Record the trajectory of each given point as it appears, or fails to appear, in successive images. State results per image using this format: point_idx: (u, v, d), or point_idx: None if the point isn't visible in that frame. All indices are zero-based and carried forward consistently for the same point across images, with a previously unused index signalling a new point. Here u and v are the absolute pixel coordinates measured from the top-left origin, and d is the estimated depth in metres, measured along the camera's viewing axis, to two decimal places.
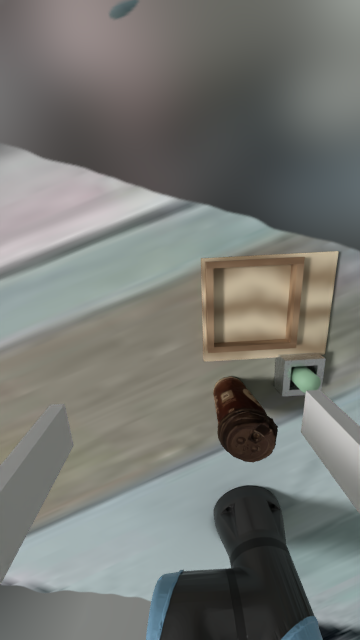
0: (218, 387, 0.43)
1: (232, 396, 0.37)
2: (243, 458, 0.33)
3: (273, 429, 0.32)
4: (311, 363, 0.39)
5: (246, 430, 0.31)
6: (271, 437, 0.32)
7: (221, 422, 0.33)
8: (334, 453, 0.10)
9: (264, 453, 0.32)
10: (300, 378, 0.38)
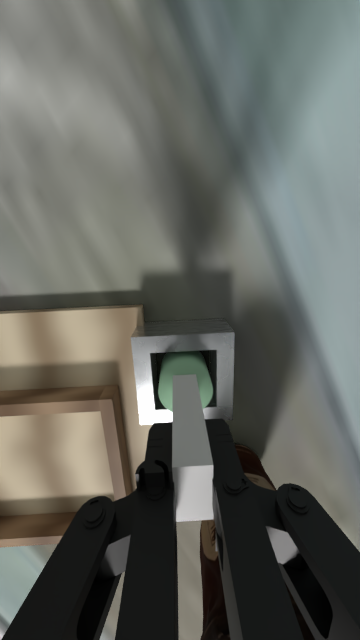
0: None
1: None
2: None
3: None
4: (146, 367, 0.16)
5: None
6: None
7: None
8: None
9: None
10: (171, 408, 0.16)
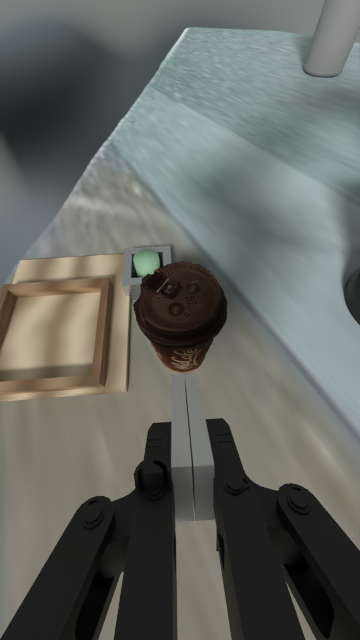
0: (170, 365, 0.28)
1: None
2: (214, 301, 0.19)
3: None
4: (129, 259, 0.34)
5: (156, 302, 0.19)
6: (169, 268, 0.20)
7: (157, 345, 0.19)
8: None
9: (200, 273, 0.20)
10: (138, 268, 0.31)
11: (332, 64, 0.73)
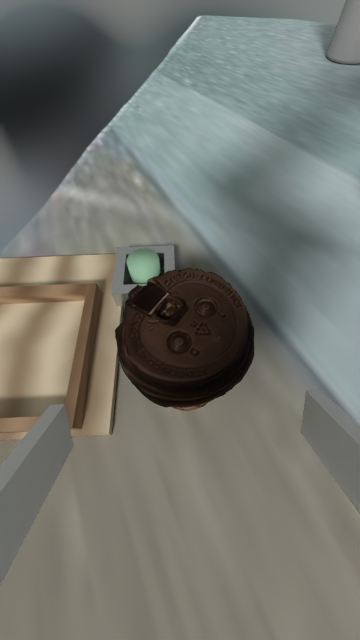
0: None
1: None
2: (237, 332, 0.12)
3: None
4: (122, 261, 0.27)
5: (148, 331, 0.12)
6: (169, 278, 0.14)
7: (148, 398, 0.12)
8: (334, 453, 0.10)
9: (216, 287, 0.13)
10: (133, 272, 0.25)
11: (359, 49, 0.66)
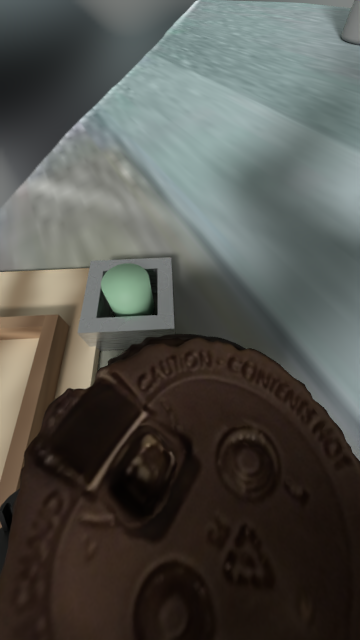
0: None
1: None
2: (358, 573, 0.04)
3: (128, 356, 0.06)
4: (97, 281, 0.19)
5: (80, 561, 0.04)
6: (150, 367, 0.06)
7: None
8: None
9: (271, 394, 0.05)
10: (110, 301, 0.17)
11: None
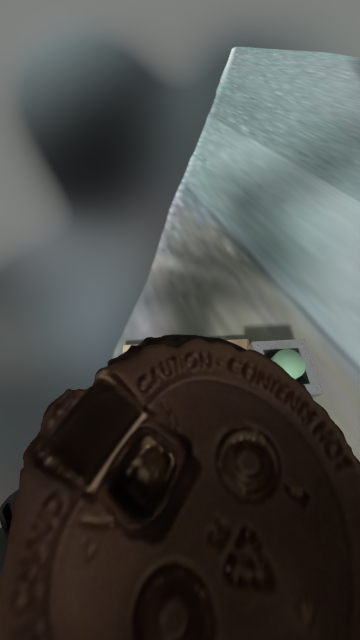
0: None
1: None
2: (359, 575, 0.04)
3: (128, 357, 0.06)
4: None
5: (80, 563, 0.04)
6: (149, 368, 0.05)
7: None
8: None
9: (271, 395, 0.05)
10: None
11: None
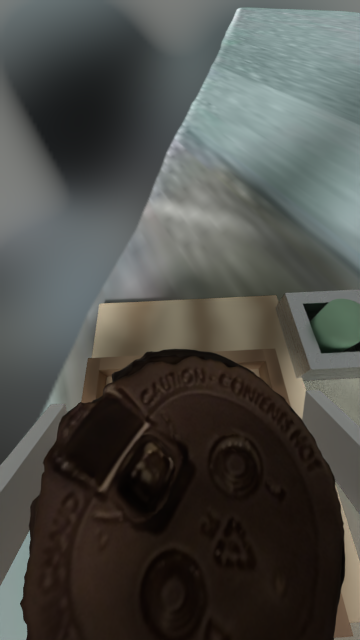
0: None
1: None
2: (323, 556, 0.05)
3: (131, 371, 0.07)
4: (302, 314, 0.19)
5: (94, 551, 0.05)
6: (151, 383, 0.06)
7: None
8: (334, 453, 0.10)
9: (255, 406, 0.06)
10: (340, 337, 0.17)
11: None
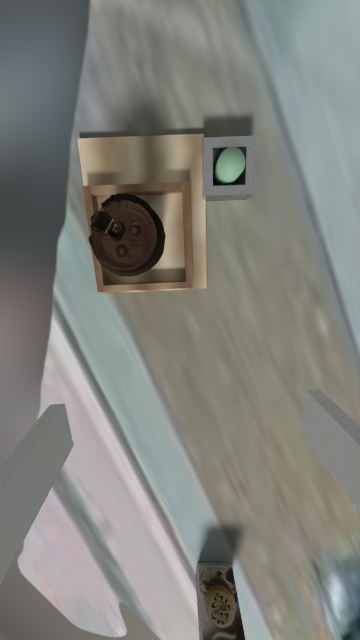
0: None
1: None
2: (151, 244, 0.24)
3: (106, 203, 0.23)
4: (210, 157, 0.31)
5: (106, 244, 0.24)
6: (112, 207, 0.23)
7: None
8: (334, 453, 0.10)
9: (141, 214, 0.23)
10: (223, 176, 0.31)
11: None
